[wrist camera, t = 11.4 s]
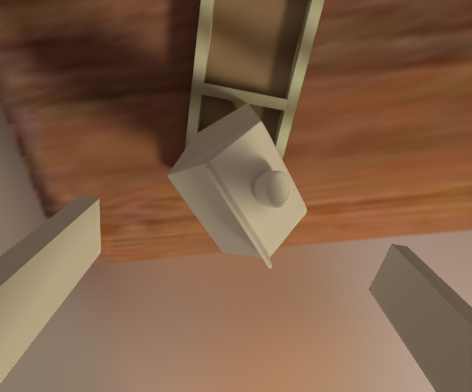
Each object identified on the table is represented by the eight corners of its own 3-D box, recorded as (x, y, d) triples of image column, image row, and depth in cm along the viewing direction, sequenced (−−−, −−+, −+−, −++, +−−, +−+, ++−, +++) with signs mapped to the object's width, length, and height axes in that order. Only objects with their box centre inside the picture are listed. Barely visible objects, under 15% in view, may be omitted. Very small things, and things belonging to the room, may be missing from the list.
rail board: (208, -32, 27) (205, -46, 24) (318, -6, 28) (328, -16, 25) (185, 174, 36) (181, 182, 33) (269, 188, 37) (272, 197, 34)
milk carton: (225, 182, 33) (219, 292, 16) (195, 133, 31) (148, 201, 13) (275, 155, 32) (327, 243, 15) (247, 102, 30) (271, 132, 12)
